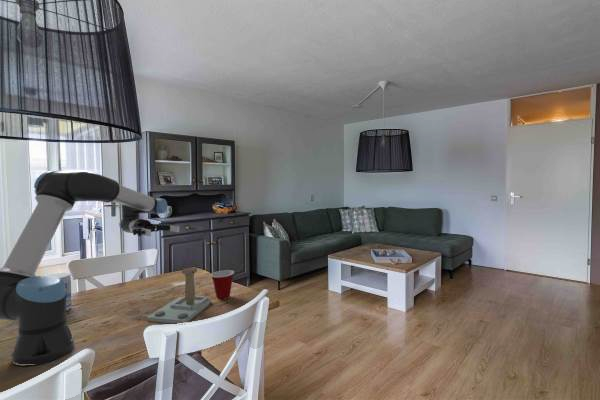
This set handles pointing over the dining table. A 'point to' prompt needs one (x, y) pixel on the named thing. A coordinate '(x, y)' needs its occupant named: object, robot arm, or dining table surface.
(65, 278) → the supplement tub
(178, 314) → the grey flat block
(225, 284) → the plastic cup
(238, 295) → the dining table surface
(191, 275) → the handle
